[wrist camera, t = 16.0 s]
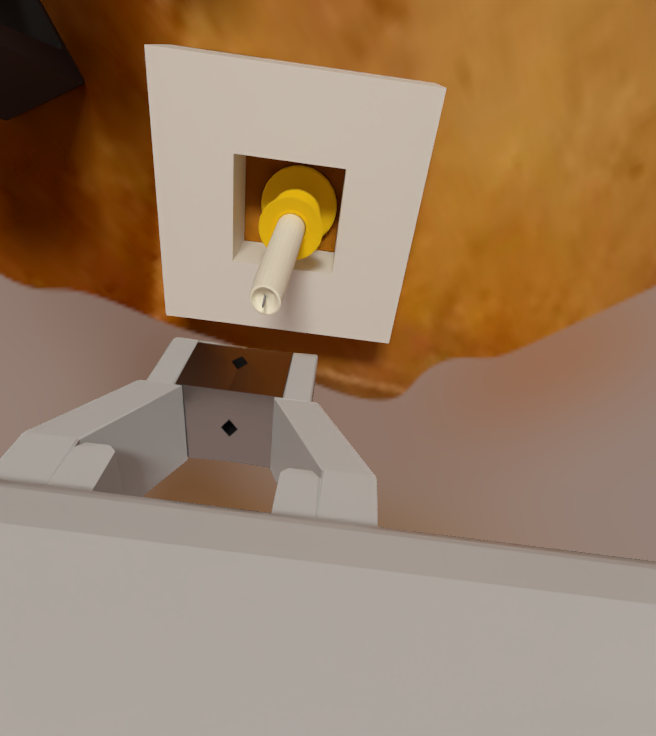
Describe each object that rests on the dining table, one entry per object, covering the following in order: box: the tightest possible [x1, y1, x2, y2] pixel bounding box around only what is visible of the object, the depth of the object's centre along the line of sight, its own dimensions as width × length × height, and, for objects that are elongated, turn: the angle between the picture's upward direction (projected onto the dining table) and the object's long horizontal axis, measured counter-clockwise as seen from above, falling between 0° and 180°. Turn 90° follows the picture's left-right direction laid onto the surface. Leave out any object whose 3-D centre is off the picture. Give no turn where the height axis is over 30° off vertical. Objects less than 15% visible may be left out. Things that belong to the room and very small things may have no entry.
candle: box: [249, 165, 337, 316], centre depth 27 cm, size 5×5×16 cm
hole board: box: [144, 44, 446, 343], centre depth 31 cm, size 16×16×4 cm
